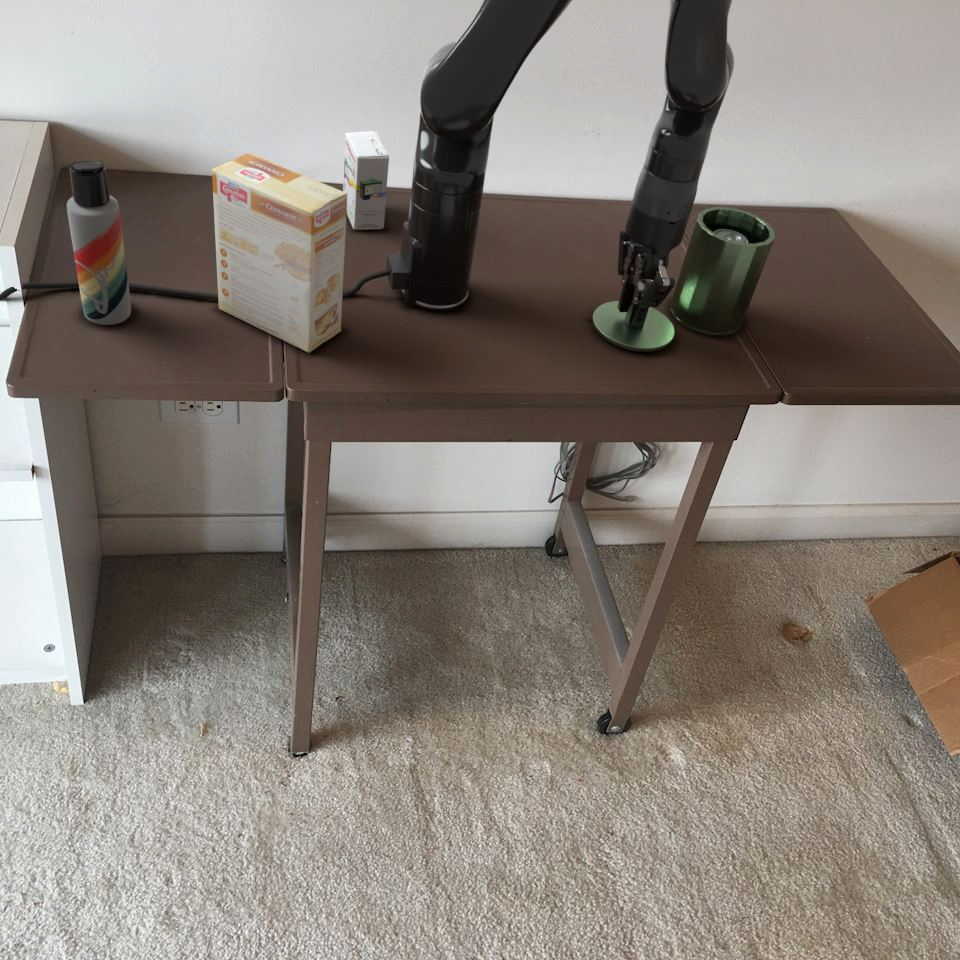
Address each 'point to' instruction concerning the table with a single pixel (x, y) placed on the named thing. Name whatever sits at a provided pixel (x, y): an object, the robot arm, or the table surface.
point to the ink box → (365, 179)
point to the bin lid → (633, 327)
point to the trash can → (720, 271)
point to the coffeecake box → (279, 250)
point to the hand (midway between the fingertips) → (629, 317)
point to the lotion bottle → (98, 245)
